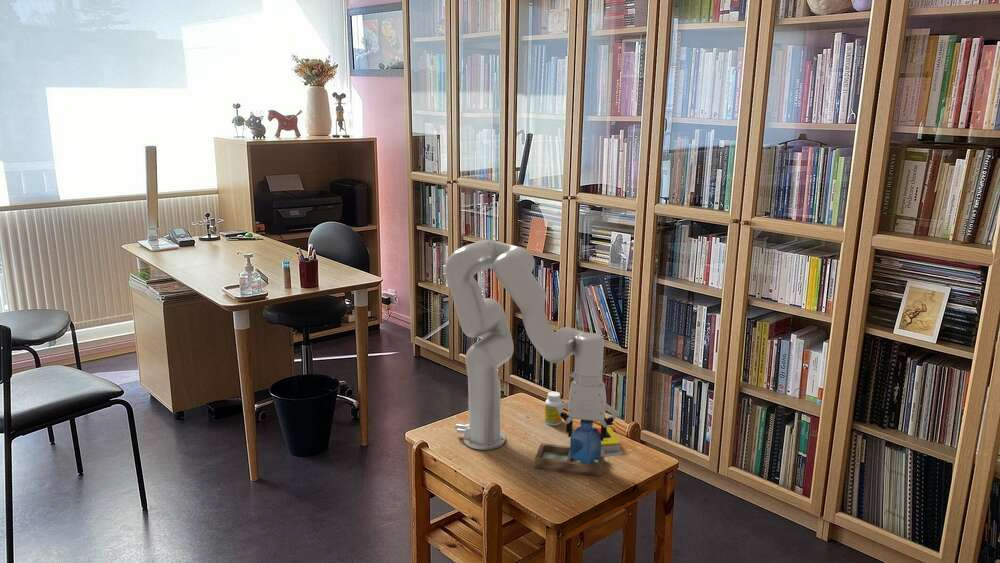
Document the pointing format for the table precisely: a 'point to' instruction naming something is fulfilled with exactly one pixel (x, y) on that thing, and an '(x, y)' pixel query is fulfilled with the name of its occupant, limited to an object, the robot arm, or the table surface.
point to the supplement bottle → (552, 409)
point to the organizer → (565, 461)
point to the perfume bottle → (585, 442)
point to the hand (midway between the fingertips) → (586, 436)
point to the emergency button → (610, 443)
